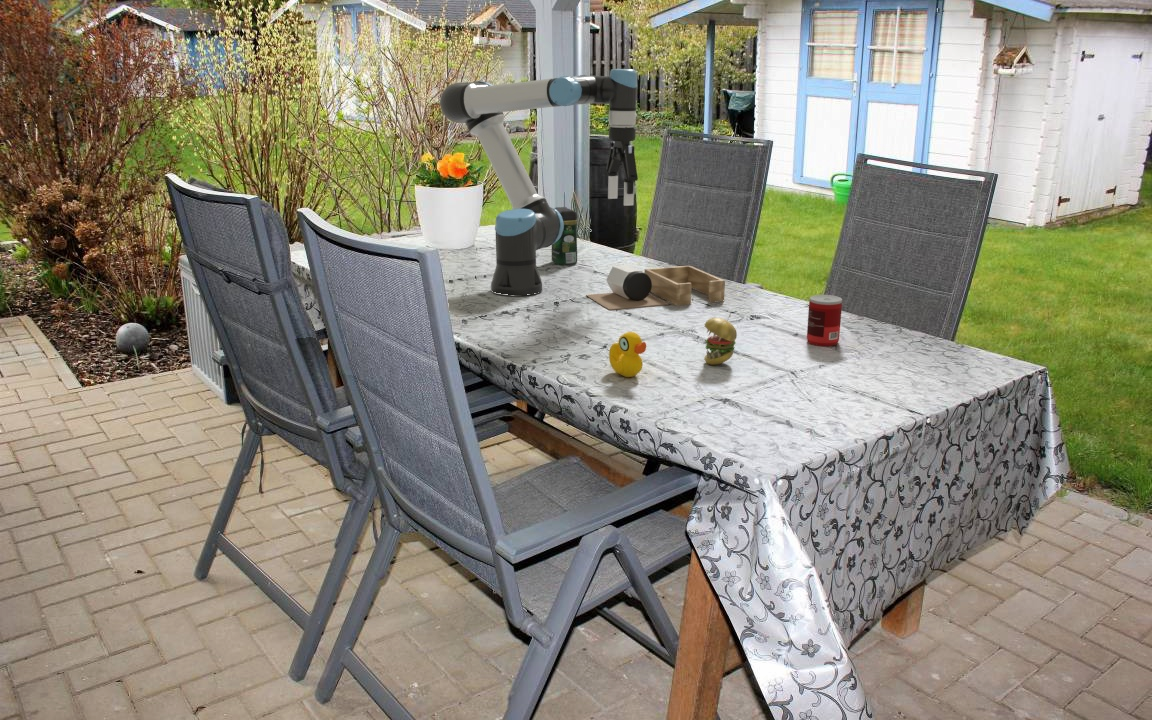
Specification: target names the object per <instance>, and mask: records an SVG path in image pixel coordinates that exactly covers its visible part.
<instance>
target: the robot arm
mask: <svg viewBox="0 0 1152 720" xmlns="http://www.w3.org/2000/svg"><path fill="white" fill-rule="evenodd" d="M637 77H638V75H637V72H636V70H635V69H632V68H614V69H610V72H609V75H604V76H603V75H587V74H583V75H581V74H580V75H574V76H570V75H564V76H559V77H556V78H546V79H538V80H537V79H536V80H528V81H527V80H526V81H518V82H511V83H502V84H492V83H490V82H487V81H482V80H478V81H475V80H474V81H472V82H471V81H470V82H469V81H468V82H454V83H451V84H450V85H448V86H447V87H446V88H444V90H443V91H442V93H441V96H440V98H439V107H440V110H441V113H442V114H443V116H444V117H445V118H446V119H447V120H449V121H451V122H452V123H455V124H465V126H466V128H467V130H468V131H469V132H468V133H470V135H473V136H476V137H477V138H478V141H479V142H480V144H481V146H482V148H483V150H484V153H485V155H486V157H487V158H488V160H489V162H490V164H491V167H492V168H493V170H494V173H495V175H496V176H497V179H498V180H499V183H500V185H501V186H502V189H503V191H504V192H505V194H506V197H507V199H508V201H509V202H510V205H511V207H512V209H507V210H503V211H501V212H499V213H498V214H497V215H496V218H495V226H494V230H495V254H496V255H495V258H496V259H495V261H496V264H495V269H494V271H493V277H492V280H491V283H490V291H491V290H492V291H493V292H496V293H501V294H508V295H527V294H534V293H538V292H540V293H542V292H543V281H542V279H541V276H540V272H539V269H538V267H537V251H538V250H541V249H545V248H549V247H550V246H552V244H554V243H556V242H557V241H558V240H559V239H560V237H561V235H562V232H563V228H564V223H563V219H562V216H561V214H560V213H559V212H558V211H557V210H556V209H555V207H554V208H553V207H552V206H550V205H549V203H548V200H547V198H546V197H545V196H543V195H540V194H538V192H537V189H536V188H535V186H534V184H533V182H532V180H531V178H530V176H529V174H528V171H527V169H526V168H525V165H524V163H523V162H522V159H521V158H520V155H519V153H518V151H517V150H516V148H515V146H514V143H513V141H512V139H511V137H510V135H509V134H508V131H507V130H506V127H505V125H504V120H505V118H506V117H505V114H504V113H507V112H515V111H526V110H534V109H536V110H537V109H544V108H545V109H546V108H556V107H568V106H573V105H587V104H588V105H589V104H602V105H603V104H604V105H607V104H608V105H609V109H608V110H609V111H608V125H610V126H609V128H608V140H609V141H610V142H609V150H608V156H607V162H606V167H605V173H606V174H607V176H608V179H607V180H608V181H607V184H608V186H607V199H608V200H612V199H614V200H615V199H618V196H619V195H618V192H619V175H620V174H619V169H620V166H621V167H622V171H623V175H624V180H623V206H624V207H625V206H629V207H630V206H634V203H635V202H634V200H635V198H634V197H635V182H636V181H639V179H638V171H637V164H636V163H637V162H636V156H635V155H636V154H635V146H634V145H631V144H630V142H634V141H636V133H637V132H636V131H637V129H636V127H634V126H635V125H636V124H637V122H636V121H637V119H636V118H638V114H637V94H638V92H637V91H638V78H637ZM538 294H539V293H538ZM534 295H535V294H534Z"/></svg>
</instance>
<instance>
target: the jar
mask: <svg viewBox="0 0 1152 720" xmlns="http://www.w3.org/2000/svg"><path fill="white" fill-rule="evenodd" d="M605 281H606V283H607V285H608V287H609V288H610V290H611V293H615V294H617V295H620V296H622V297H624V298H627V299H632V300H636V301H640V300H643V299H645V298H646V297H647V296H648V295H649V294H651V292H650V291H651V288H652V282H651V279H650V277H649V276H648V275H647V274H645V272H643V270H642V269H639V268H636V267H633V266H631V265H628V264H621V265H614V266H612V268H611V269H610V272H609V273H608V275H607V277H606V280H605Z"/></svg>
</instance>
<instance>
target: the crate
mask: <svg viewBox="0 0 1152 720" xmlns="http://www.w3.org/2000/svg"><path fill="white" fill-rule="evenodd" d="M644 273H645V274H647V275H648V276H649V277H650V279H651V282H652V288H651V291H650V294H652V295H655V296H656V297H658V298H660V299H662V300H663V301H665V302H667V303H669V304H672V305H674V306H676V307H678V306H686V305H688V306H689V305H692V289H693V288H694V290H695V289H696V290H695V291H697V290H698V291H697V292H700V293H702V294H704V293H705V294H704V295H706V294H707V295H706V296H708V295H709V296H708V300H707V301H709V302H708V303H710V302H711V303H716V302H715V301H722V302H724V301H725V293H726V292H725V290H726V288H725V287H726V280H725V279H724V278H723V279H722V278H721V277H717V276H715V275H714V274H710V273H709V272H706V271H704V270H702V269H699V268H697V267H695V266H692V265H683V266H669V267H667V266H666V267H655V268H645V269H644ZM723 300H724V301H723Z"/></svg>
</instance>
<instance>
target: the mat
mask: <svg viewBox="0 0 1152 720" xmlns="http://www.w3.org/2000/svg"><path fill="white" fill-rule="evenodd" d="M587 296H588V297H587ZM585 297H587V298H589V299H590V298H591V299H590V300H592V299H593V300H594V302H595V301H596V302H595V303H597V304H598V305H600V306H601V307H603V308H605V309H606V310H608V311H615V310H628V309H638V308H649V307H651V308H652V307H659V306H660V307H661V306H669V305H670V303H669V302H668V301H666V300H664V299H662V298H660V297H658V296H656V295H655V296H654V294H652V293H649V295H648V296H647V297H646V298H645V299H643V300H640V301H636V300H632V299H627V298H624V297H622V296H620V295H617V294H615V293H613V292H605V293H604V292H603V293H595V294H594V293H592V294H586V295H585ZM593 300H592V301H593Z"/></svg>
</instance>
